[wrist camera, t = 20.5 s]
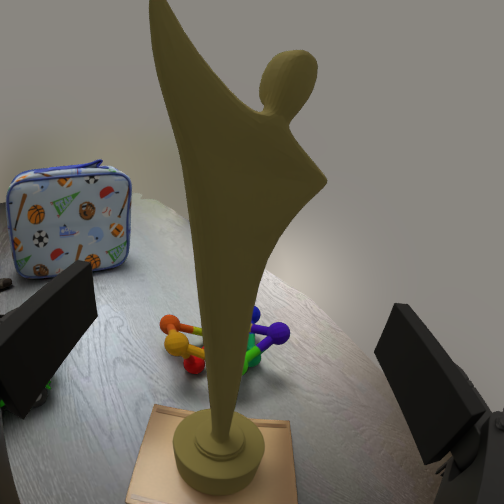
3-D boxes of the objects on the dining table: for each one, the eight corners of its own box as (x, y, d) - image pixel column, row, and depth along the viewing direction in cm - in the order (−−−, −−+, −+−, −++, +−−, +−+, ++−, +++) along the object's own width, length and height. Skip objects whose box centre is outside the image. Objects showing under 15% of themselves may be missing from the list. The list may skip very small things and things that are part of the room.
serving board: (286, 427, 26) (289, 420, 25) (294, 525, 15) (299, 522, 14) (155, 411, 25) (154, 403, 25) (128, 506, 14) (124, 501, 14)
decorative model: (160, 305, 38) (265, 284, 40) (176, 359, 39) (274, 338, 42) (146, 346, 25) (296, 314, 28) (172, 413, 26) (304, 384, 29)
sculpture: (238, 415, 25) (297, 73, 15) (287, 461, 20) (404, 71, 10) (140, 455, 18) (124, 22, 8) (182, 518, 13) (207, -63, 3)
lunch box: (124, 250, 63) (127, 156, 55) (139, 267, 56) (143, 159, 48) (16, 267, 45) (8, 164, 37) (15, 290, 38) (1, 169, 30)
